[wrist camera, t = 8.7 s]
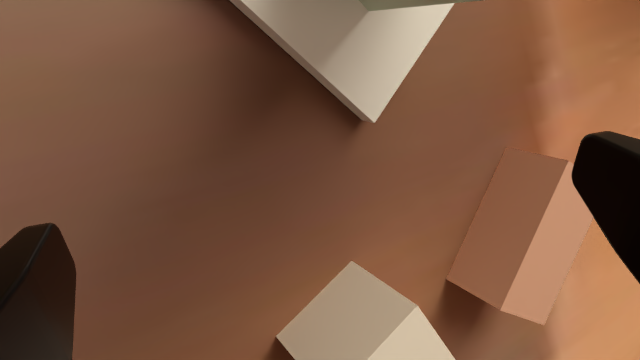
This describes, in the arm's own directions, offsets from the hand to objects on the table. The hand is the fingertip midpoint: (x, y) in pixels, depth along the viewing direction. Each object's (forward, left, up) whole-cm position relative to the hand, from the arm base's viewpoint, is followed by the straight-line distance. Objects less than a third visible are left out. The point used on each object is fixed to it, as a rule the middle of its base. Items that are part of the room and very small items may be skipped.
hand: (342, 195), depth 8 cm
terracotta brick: (+4, -19, -12) cm, 23 cm away
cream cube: (-5, -12, -12) cm, 18 cm away
